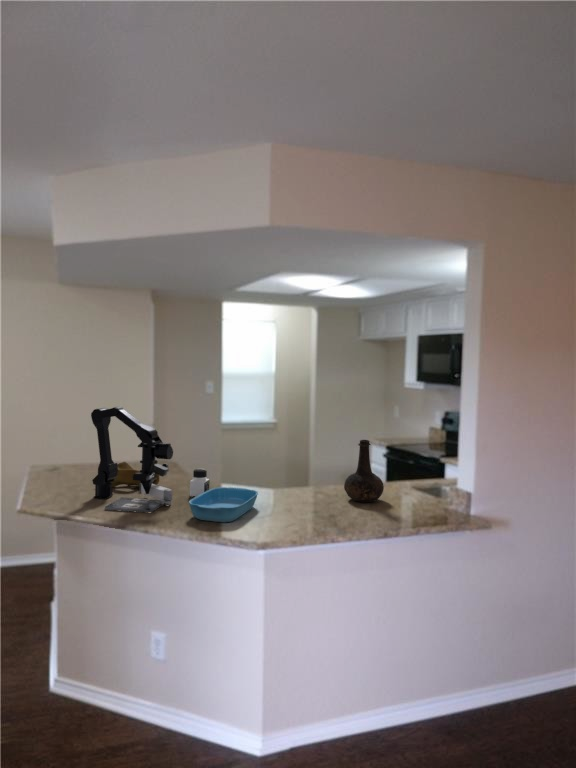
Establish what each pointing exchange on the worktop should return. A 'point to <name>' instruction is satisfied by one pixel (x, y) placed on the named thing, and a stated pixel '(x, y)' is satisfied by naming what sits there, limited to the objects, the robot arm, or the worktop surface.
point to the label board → (136, 504)
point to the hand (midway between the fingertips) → (147, 494)
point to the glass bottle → (364, 478)
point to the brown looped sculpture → (128, 476)
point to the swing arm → (157, 492)
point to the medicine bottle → (199, 482)
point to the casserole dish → (223, 503)
